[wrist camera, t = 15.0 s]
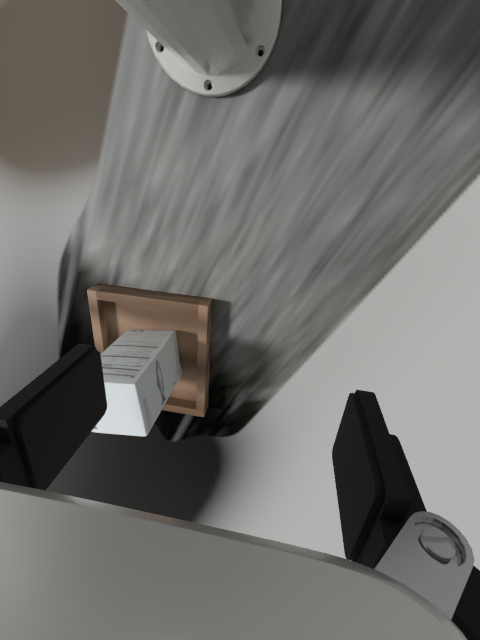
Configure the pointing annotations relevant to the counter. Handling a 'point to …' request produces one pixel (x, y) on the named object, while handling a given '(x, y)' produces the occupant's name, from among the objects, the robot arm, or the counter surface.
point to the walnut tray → (160, 314)
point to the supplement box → (138, 380)
